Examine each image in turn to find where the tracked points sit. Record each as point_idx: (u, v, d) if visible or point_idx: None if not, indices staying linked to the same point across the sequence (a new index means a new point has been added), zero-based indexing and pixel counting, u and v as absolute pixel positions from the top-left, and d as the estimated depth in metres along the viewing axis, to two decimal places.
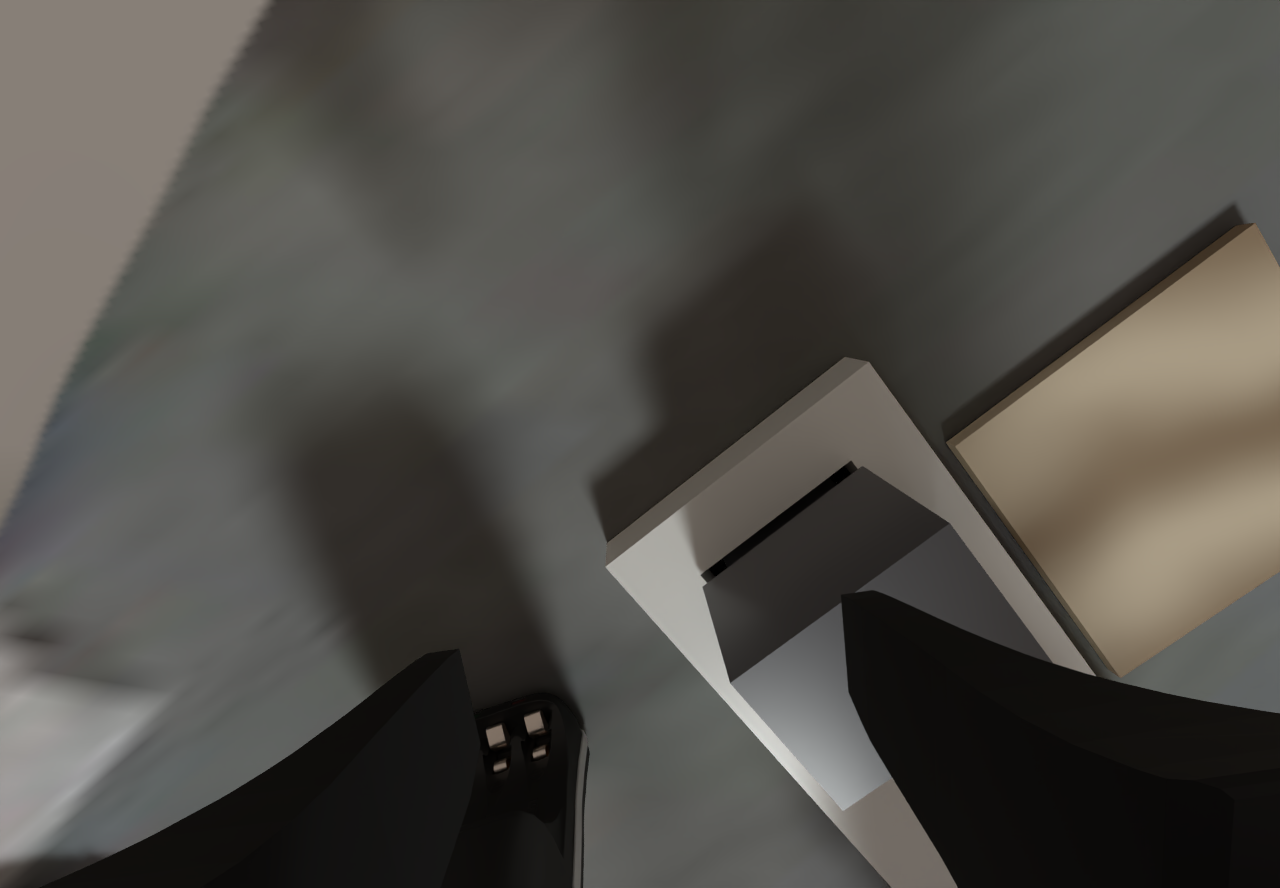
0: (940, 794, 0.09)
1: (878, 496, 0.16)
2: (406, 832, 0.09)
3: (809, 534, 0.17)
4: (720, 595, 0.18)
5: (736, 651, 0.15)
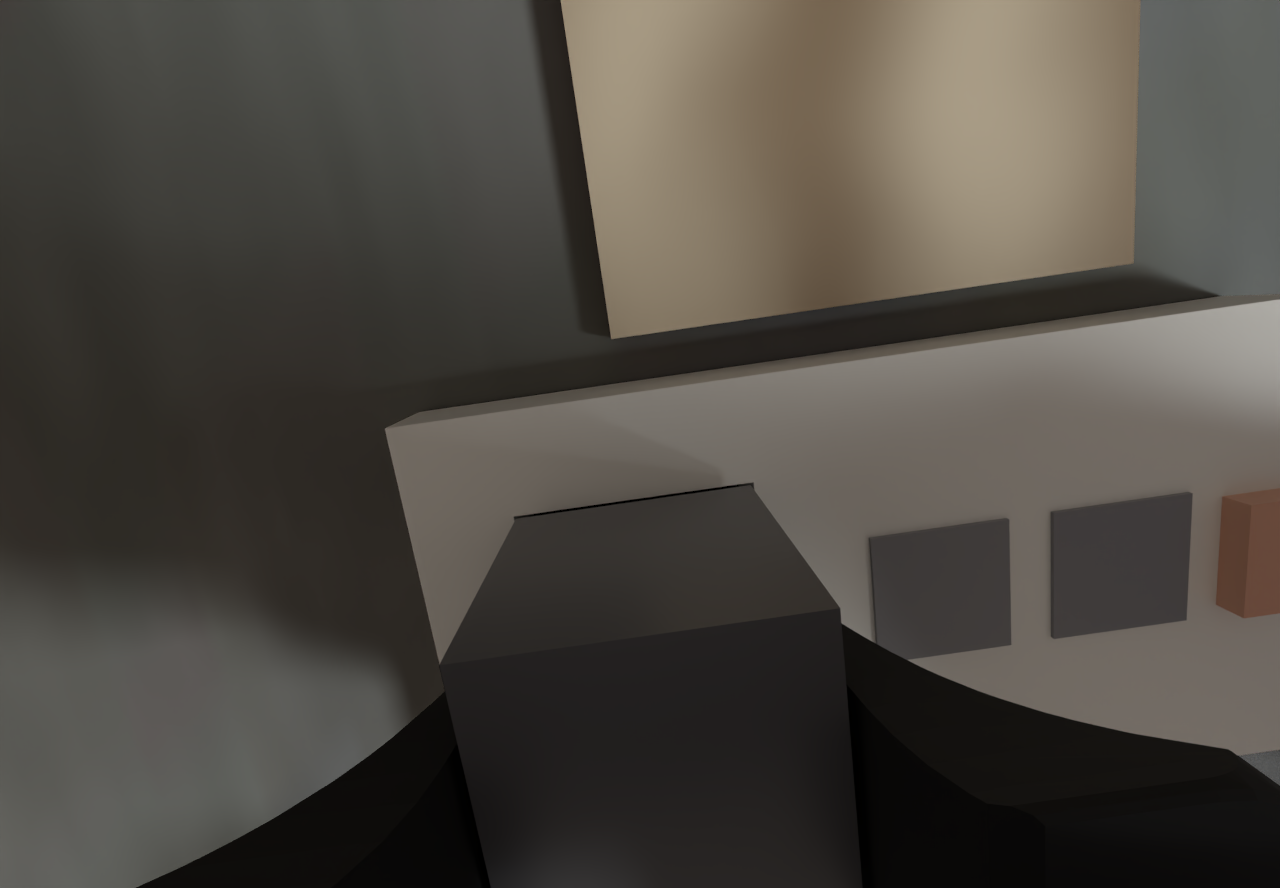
0: None
1: None
2: None
3: None
4: None
5: None
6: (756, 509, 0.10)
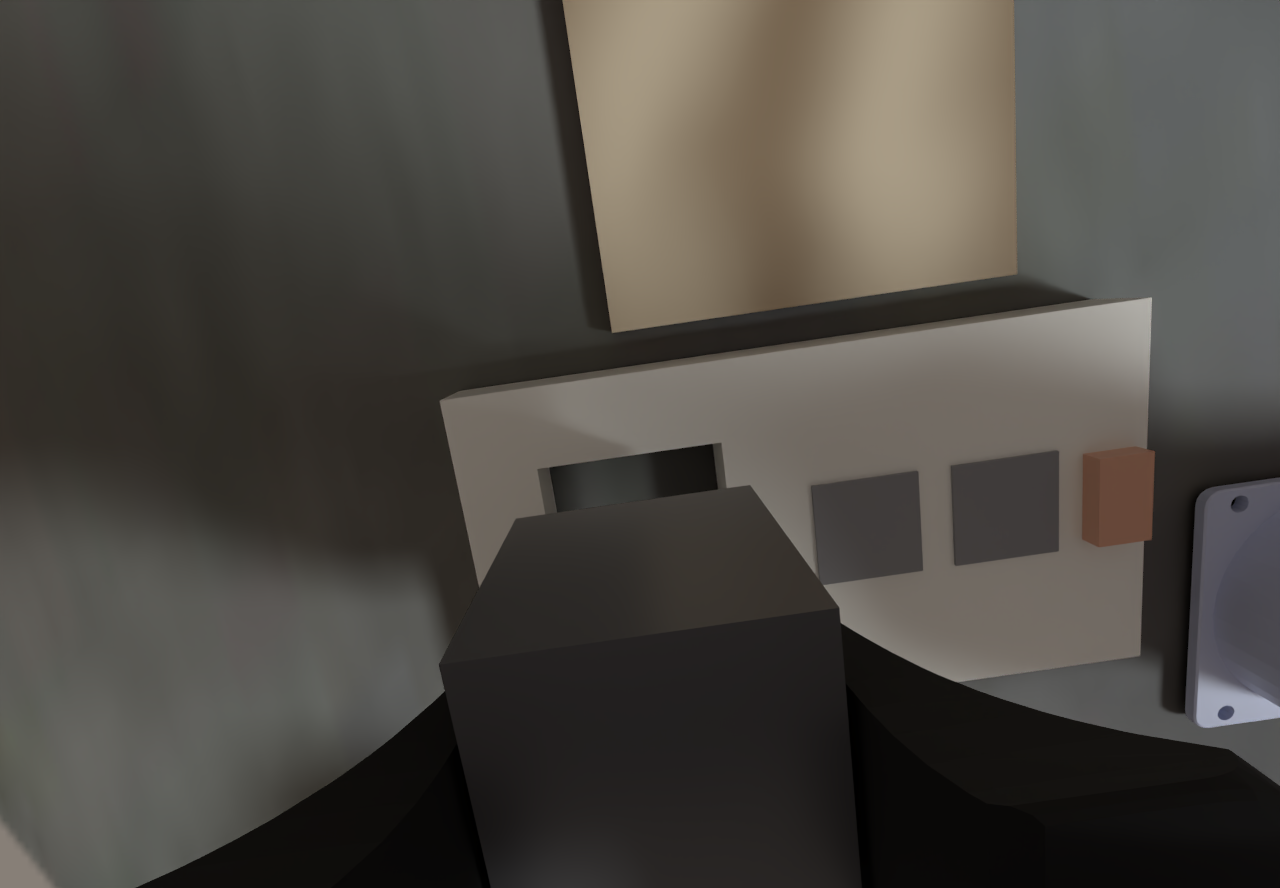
0: None
1: None
2: None
3: None
4: None
5: None
6: (755, 509, 0.10)
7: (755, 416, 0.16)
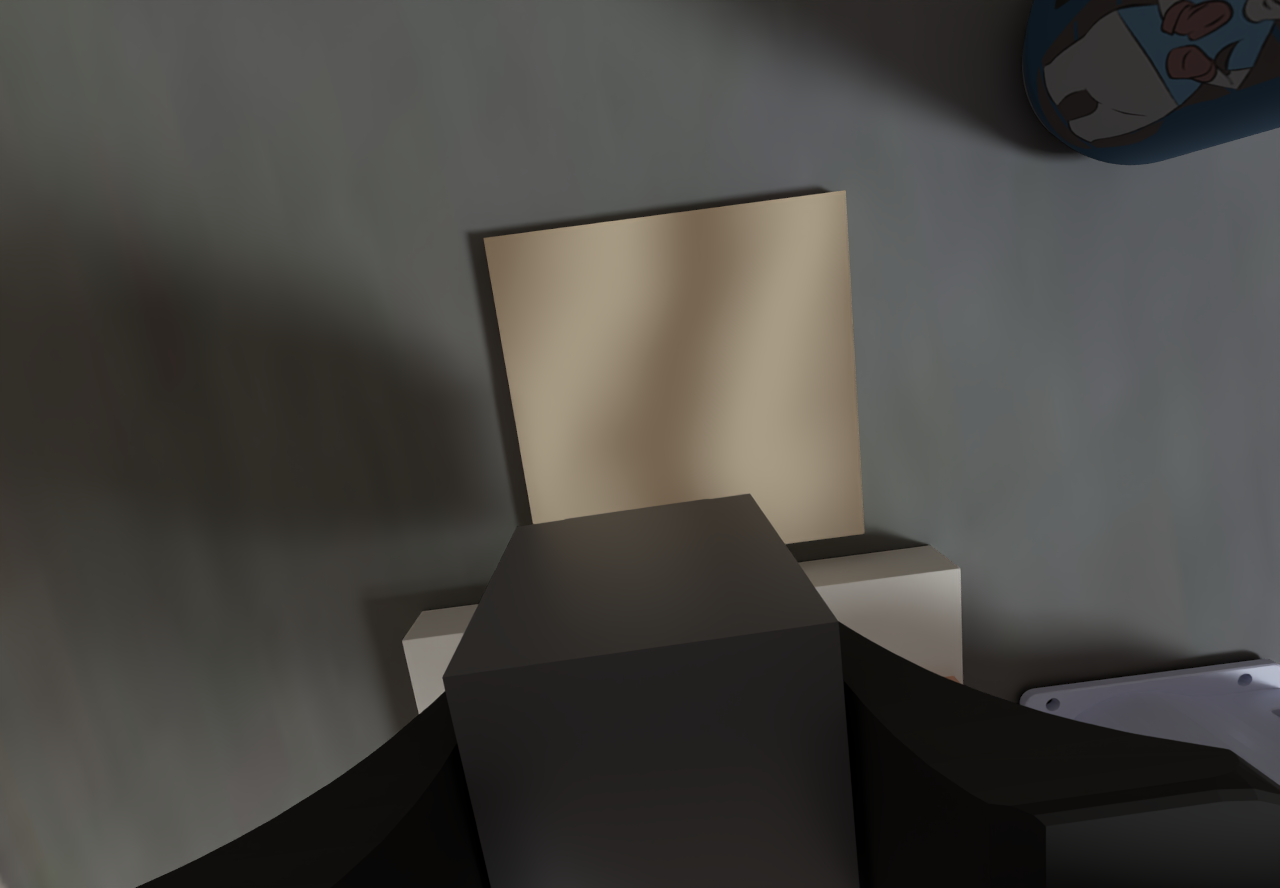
0: None
1: None
2: None
3: None
4: None
5: None
6: (755, 518, 0.10)
7: None
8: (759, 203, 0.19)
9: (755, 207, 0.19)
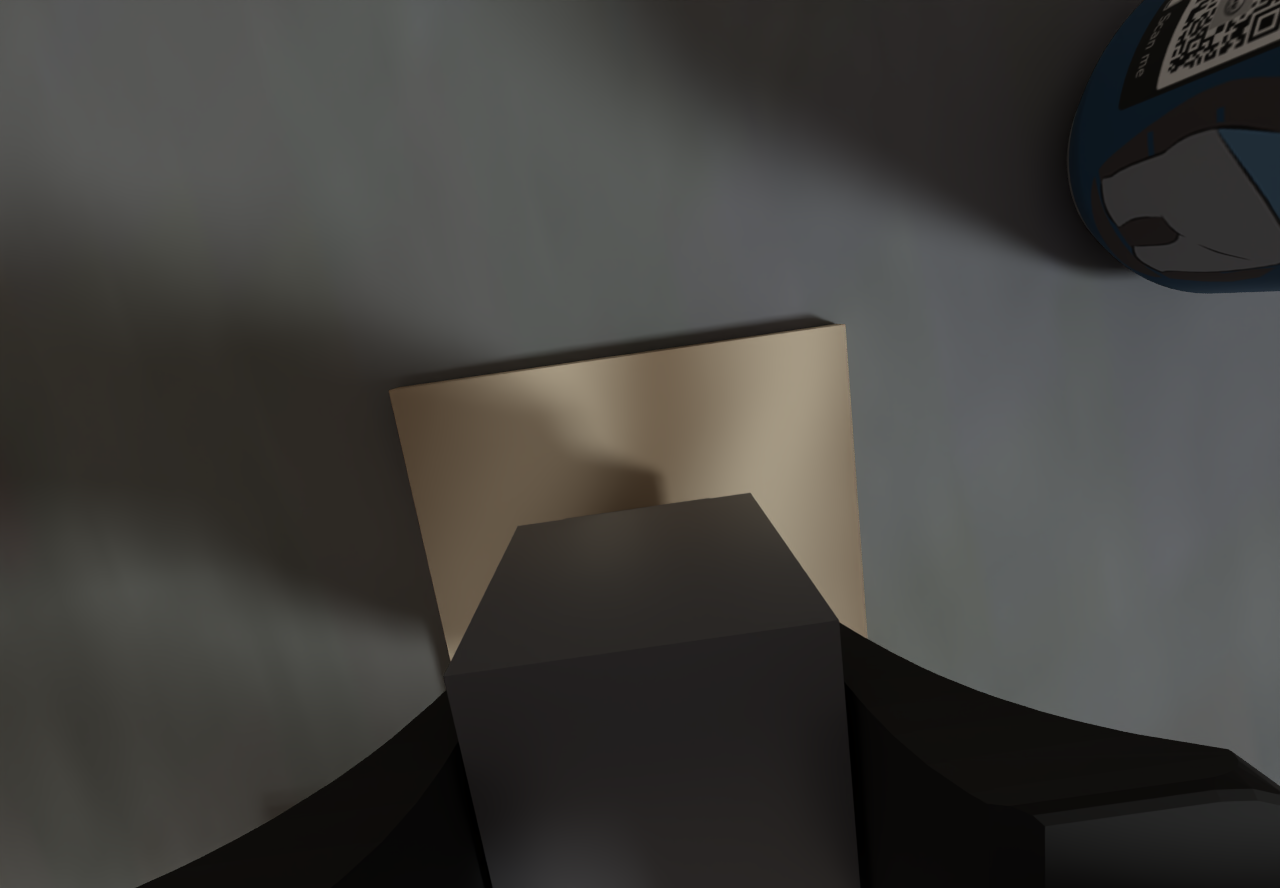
0: None
1: None
2: None
3: None
4: None
5: None
6: (756, 517, 0.10)
7: None
8: (736, 342, 0.15)
9: (731, 347, 0.15)
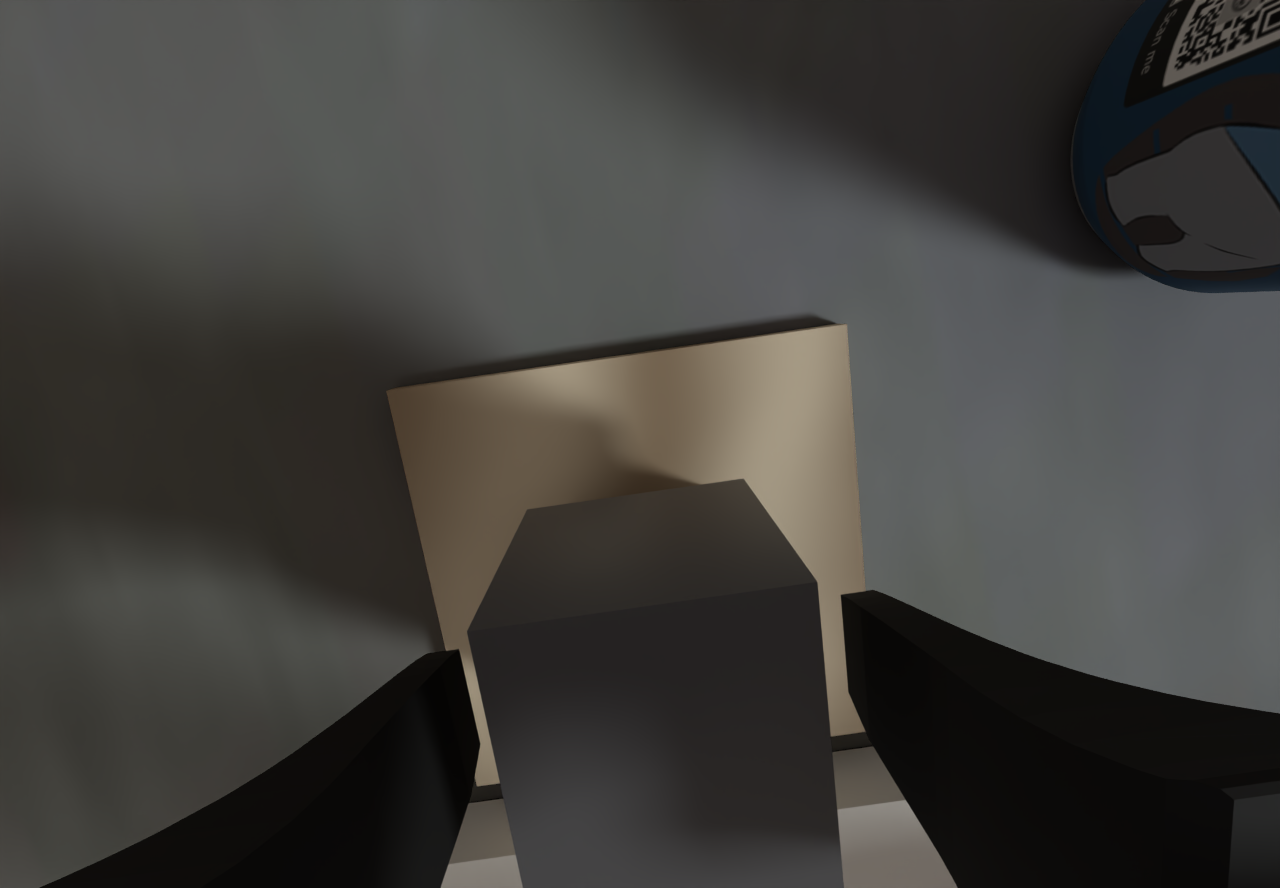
0: (939, 795, 0.09)
1: None
2: (406, 832, 0.09)
3: None
4: None
5: None
6: (747, 499, 0.11)
7: None
8: (737, 341, 0.15)
9: (732, 347, 0.15)
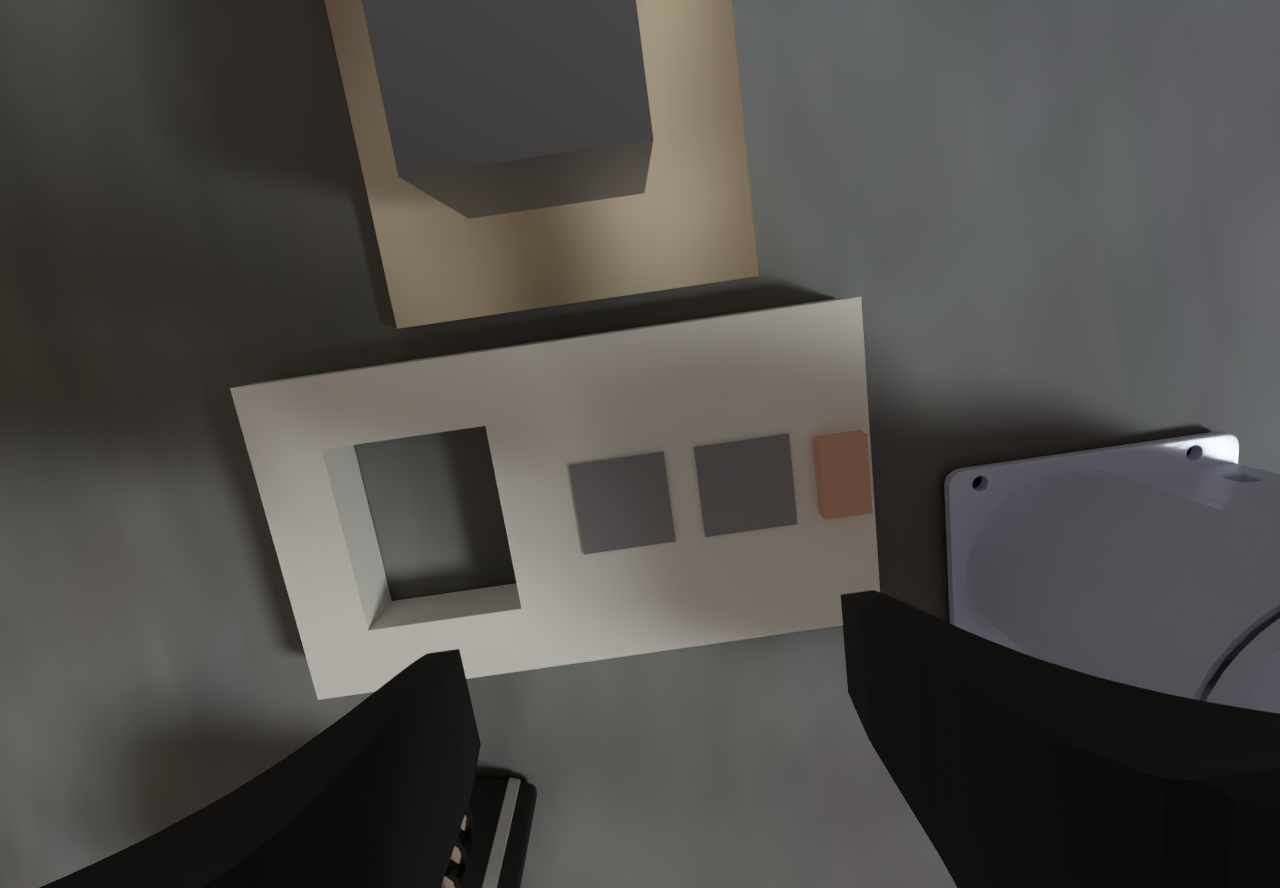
0: (939, 794, 0.09)
1: None
2: (406, 832, 0.09)
3: None
4: None
5: None
6: None
7: (514, 402, 0.18)
8: None
9: None
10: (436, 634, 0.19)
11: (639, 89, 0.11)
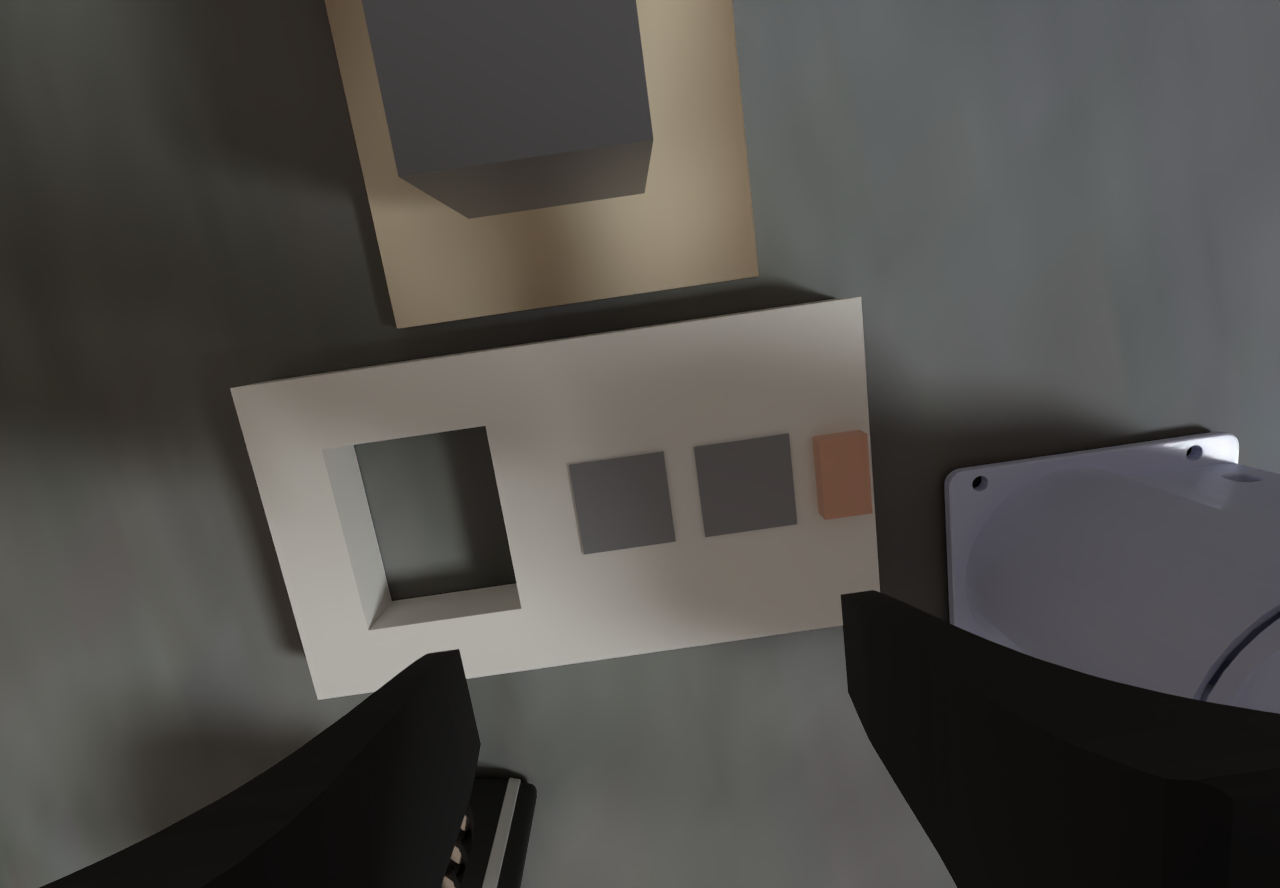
0: (939, 794, 0.09)
1: None
2: (406, 832, 0.09)
3: None
4: None
5: None
6: None
7: (514, 402, 0.18)
8: None
9: None
10: (436, 634, 0.19)
11: (639, 89, 0.11)
